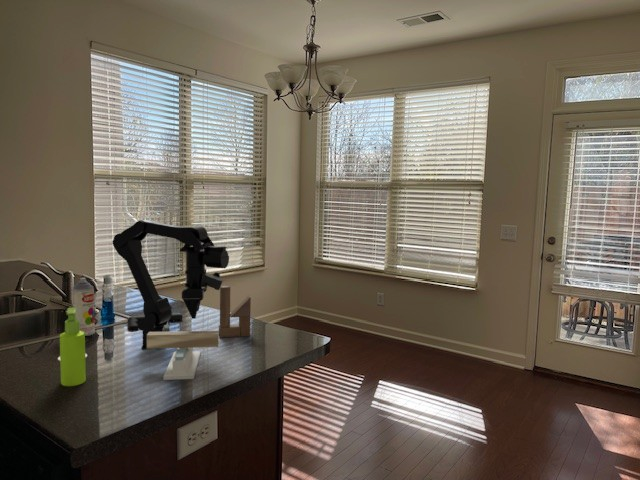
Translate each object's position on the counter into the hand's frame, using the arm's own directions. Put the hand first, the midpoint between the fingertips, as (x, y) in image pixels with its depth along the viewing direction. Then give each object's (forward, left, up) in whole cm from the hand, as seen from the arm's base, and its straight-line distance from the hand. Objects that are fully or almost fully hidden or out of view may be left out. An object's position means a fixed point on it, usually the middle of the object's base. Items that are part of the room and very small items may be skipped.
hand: (195, 314), depth 152 cm
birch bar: (-2, -13, -6) cm, 14 cm away
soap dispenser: (-29, -23, -12) cm, 39 cm away
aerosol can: (-40, +20, -12) cm, 46 cm away
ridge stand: (-2, -13, -12) cm, 18 cm away
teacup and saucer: (-35, 0, -13) cm, 37 cm away
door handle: (-17, +30, -13) cm, 37 cm away
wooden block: (+12, +16, -12) cm, 23 cm away
